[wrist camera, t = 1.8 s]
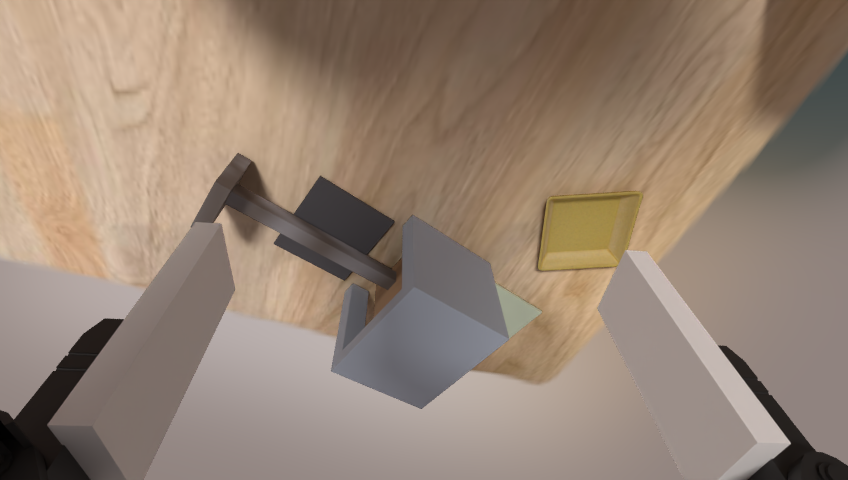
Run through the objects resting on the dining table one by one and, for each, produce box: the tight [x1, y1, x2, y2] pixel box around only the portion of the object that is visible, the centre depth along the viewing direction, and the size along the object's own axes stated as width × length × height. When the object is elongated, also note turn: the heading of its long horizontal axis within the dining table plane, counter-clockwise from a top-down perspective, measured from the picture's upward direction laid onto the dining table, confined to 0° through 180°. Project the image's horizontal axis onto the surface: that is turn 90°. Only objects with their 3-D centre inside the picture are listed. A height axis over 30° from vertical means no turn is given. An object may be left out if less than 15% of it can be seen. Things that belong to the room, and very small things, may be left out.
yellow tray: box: [538, 191, 643, 271], centre depth 41 cm, size 9×9×2 cm
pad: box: [495, 283, 542, 338], centre depth 48 cm, size 8×9×1 cm
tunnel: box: [331, 215, 509, 409], centre depth 40 cm, size 10×12×10 cm
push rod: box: [191, 153, 402, 318], centre depth 39 cm, size 24×6×6 cm, turn 52°
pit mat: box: [274, 176, 394, 280], centre depth 41 cm, size 8×9×1 cm
